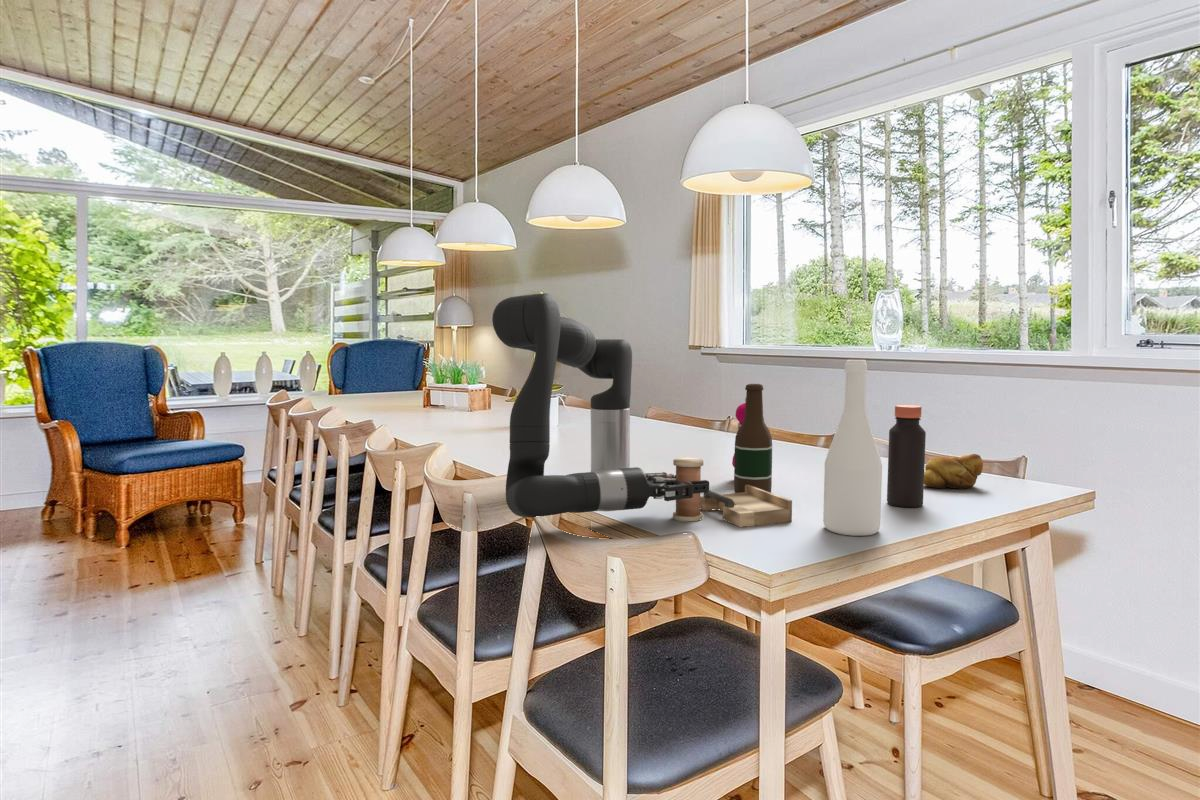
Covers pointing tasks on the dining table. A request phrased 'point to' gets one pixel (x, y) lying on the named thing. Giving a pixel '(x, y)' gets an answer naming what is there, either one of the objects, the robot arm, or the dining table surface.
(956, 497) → the dining table surface
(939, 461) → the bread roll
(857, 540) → the dining table surface
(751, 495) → the wooden tray with handle
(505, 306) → the robot arm
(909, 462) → the vinegar
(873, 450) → the wine bottle
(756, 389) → the beer bottle
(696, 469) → the bobbin
